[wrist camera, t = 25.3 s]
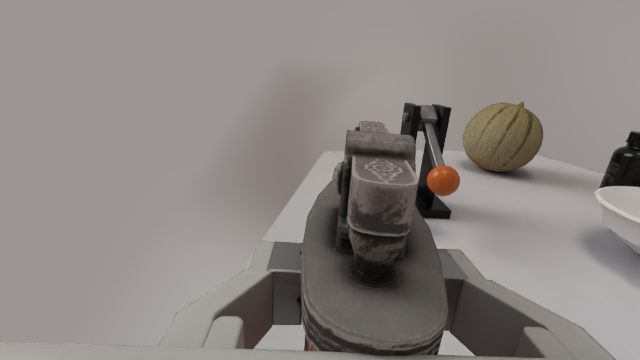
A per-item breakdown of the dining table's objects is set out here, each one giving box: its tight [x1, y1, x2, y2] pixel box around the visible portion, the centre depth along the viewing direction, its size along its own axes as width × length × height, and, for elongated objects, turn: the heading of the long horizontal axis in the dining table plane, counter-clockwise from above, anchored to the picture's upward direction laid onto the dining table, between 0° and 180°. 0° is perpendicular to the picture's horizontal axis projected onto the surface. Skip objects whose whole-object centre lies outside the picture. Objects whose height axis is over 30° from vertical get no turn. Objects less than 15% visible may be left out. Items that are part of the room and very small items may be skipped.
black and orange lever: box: [400, 103, 451, 219], centre depth 44 cm, size 10×8×15 cm
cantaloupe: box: [463, 102, 543, 172], centre depth 65 cm, size 15×15×15 cm
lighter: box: [301, 121, 448, 356], centre depth 9 cm, size 8×3×10 cm, turn 174°
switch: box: [418, 105, 460, 196], centre depth 39 cm, size 14×4×4 cm
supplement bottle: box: [599, 131, 640, 189], centre depth 50 cm, size 7×7×12 cm
